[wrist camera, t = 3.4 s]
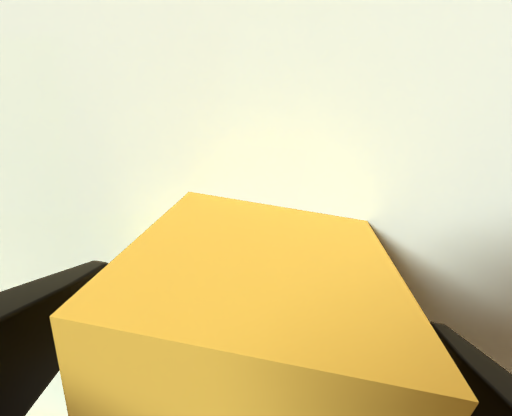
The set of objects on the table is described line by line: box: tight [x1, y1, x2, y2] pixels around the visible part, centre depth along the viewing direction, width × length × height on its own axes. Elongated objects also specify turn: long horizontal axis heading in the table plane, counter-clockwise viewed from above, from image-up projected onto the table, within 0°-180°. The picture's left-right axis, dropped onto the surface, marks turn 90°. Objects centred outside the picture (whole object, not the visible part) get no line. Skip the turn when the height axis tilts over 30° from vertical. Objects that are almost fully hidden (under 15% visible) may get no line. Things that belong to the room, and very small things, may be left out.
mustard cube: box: [49, 192, 479, 416], centre depth 6 cm, size 5×5×5 cm
